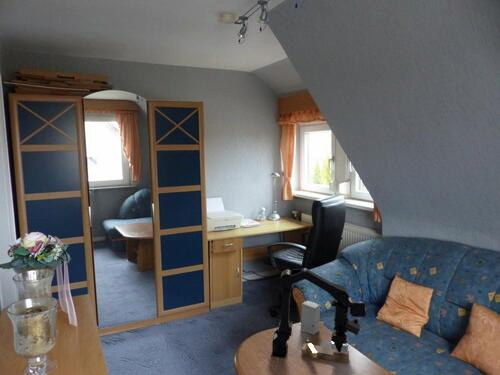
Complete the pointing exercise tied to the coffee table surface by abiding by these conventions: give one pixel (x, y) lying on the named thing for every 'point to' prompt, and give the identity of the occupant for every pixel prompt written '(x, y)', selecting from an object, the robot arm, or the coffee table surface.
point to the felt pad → (325, 344)
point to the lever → (311, 348)
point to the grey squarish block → (344, 346)
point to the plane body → (327, 354)
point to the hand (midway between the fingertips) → (339, 347)
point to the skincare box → (310, 317)
